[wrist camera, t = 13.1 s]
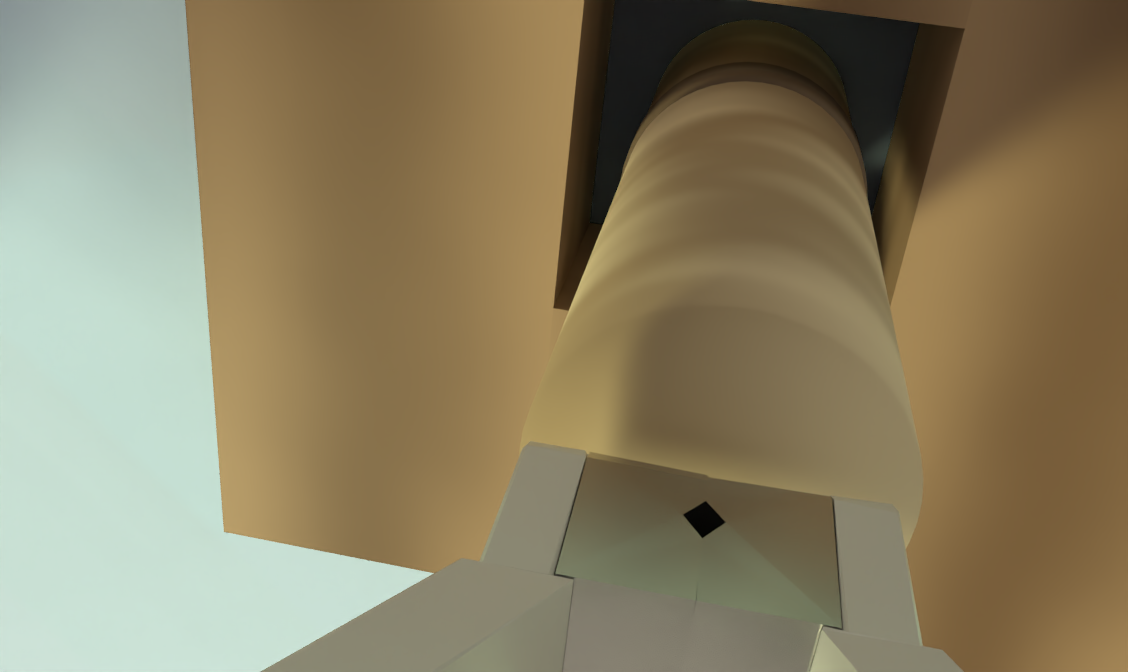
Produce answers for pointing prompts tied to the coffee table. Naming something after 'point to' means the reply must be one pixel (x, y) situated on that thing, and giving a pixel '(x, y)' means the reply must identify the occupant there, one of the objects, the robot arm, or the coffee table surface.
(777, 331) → the maple dowel
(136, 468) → the coffee table surface
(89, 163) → the coffee table surface
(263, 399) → the walnut board
